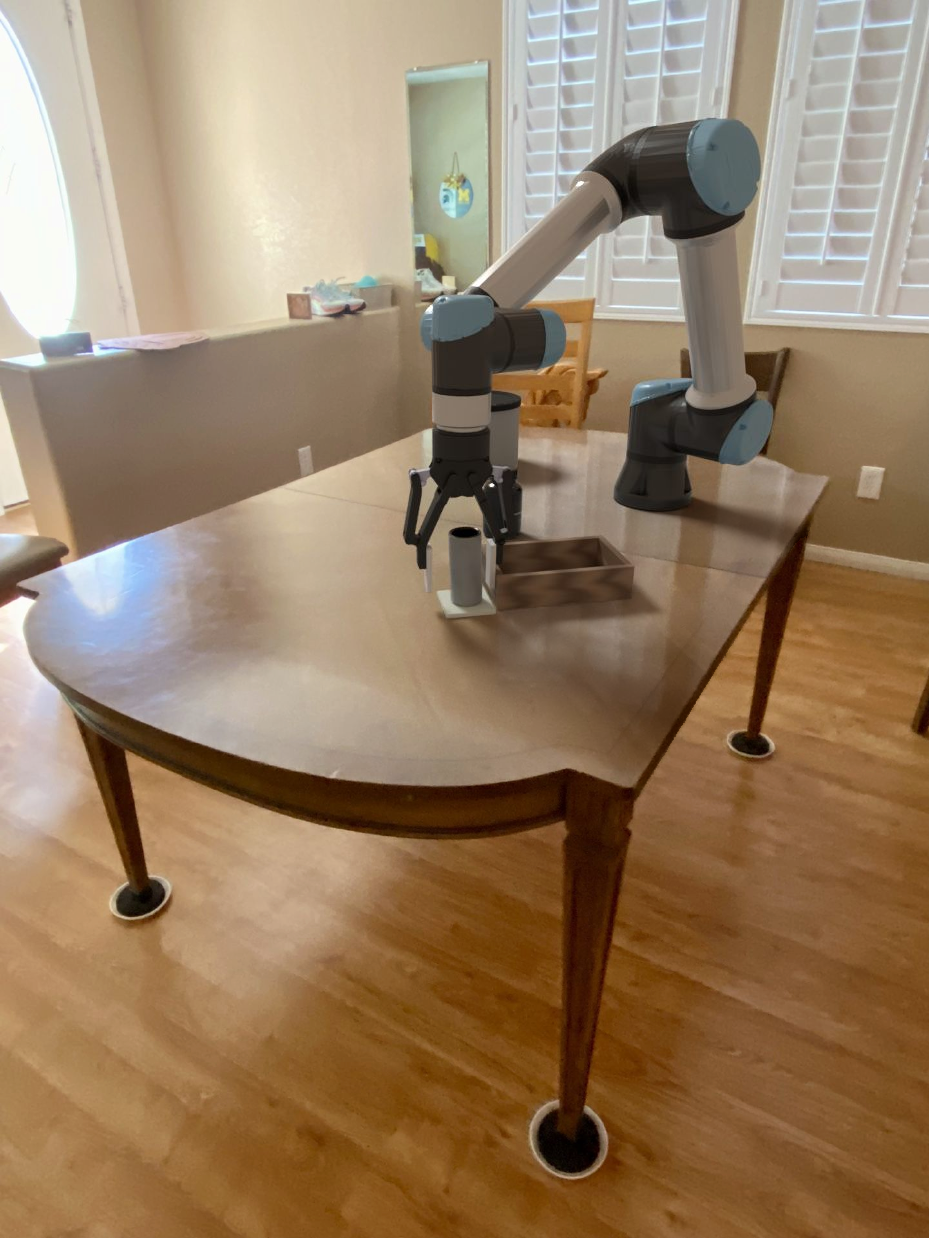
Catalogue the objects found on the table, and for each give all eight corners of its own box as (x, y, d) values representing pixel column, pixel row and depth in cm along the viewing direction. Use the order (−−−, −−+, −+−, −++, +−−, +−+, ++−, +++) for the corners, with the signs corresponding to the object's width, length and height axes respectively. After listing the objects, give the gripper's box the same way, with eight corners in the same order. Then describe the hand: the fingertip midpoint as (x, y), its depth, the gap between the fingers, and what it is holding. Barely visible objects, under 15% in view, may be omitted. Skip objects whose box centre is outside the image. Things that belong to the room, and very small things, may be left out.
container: (521, 474, 169) (523, 405, 162) (436, 474, 169) (434, 405, 162) (517, 452, 186) (519, 389, 179) (439, 452, 186) (438, 389, 179)
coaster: (483, 590, 114) (483, 586, 113) (495, 613, 107) (495, 610, 106) (436, 594, 112) (436, 590, 112) (446, 618, 105) (446, 614, 105)
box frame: (599, 564, 122) (602, 535, 120) (631, 598, 111) (634, 566, 109) (478, 574, 119) (478, 544, 117) (497, 610, 108) (498, 578, 105)
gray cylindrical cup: (486, 595, 110) (485, 527, 106) (476, 608, 107) (475, 539, 102) (456, 591, 112) (454, 525, 107) (446, 604, 108) (443, 535, 103)
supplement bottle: (518, 542, 132) (520, 473, 126) (479, 539, 133) (479, 471, 127) (523, 528, 138) (525, 463, 132) (486, 526, 139) (487, 461, 133)
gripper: (532, 417, 103) (524, 572, 113) (376, 421, 100) (382, 581, 110) (548, 429, 97) (538, 592, 107) (382, 434, 93) (388, 603, 103)
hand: (459, 586), depth 108 cm, fingers open, 8 cm apart
